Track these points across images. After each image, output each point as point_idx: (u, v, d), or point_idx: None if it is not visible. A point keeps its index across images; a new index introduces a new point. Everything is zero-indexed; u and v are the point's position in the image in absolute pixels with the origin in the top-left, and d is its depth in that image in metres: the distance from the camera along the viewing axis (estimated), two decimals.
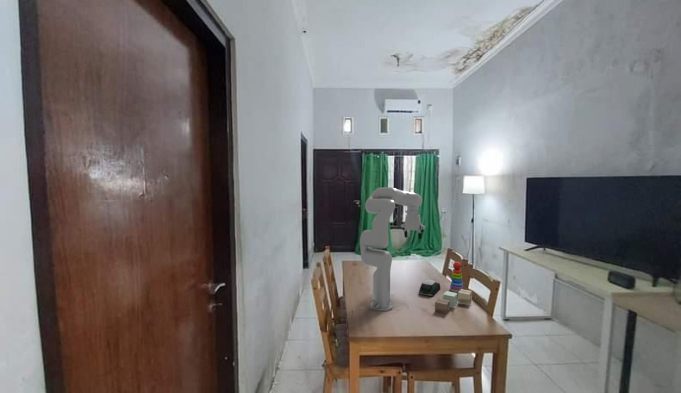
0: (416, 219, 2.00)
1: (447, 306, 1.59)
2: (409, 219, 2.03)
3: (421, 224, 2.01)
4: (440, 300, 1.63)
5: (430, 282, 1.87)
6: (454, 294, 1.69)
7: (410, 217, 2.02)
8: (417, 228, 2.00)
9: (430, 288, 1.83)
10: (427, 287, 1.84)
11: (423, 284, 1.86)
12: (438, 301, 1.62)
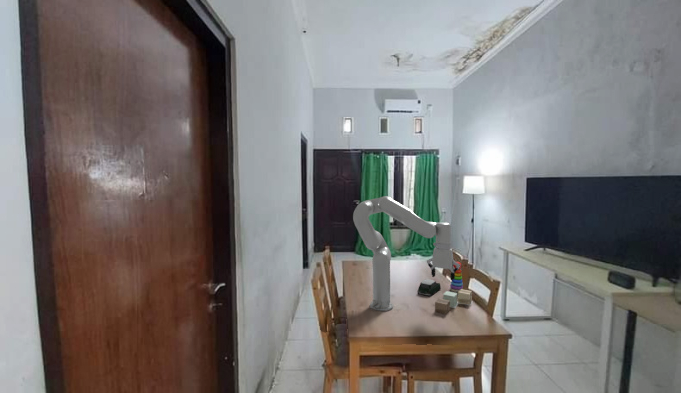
0: (448, 255, 1.57)
1: (447, 306, 1.59)
2: (439, 255, 1.59)
3: (454, 261, 1.58)
4: (440, 300, 1.63)
5: (429, 282, 1.87)
6: (454, 294, 1.69)
7: (439, 252, 1.59)
8: (449, 266, 1.57)
9: (428, 288, 1.83)
10: (425, 287, 1.84)
11: (422, 284, 1.87)
12: (438, 301, 1.62)
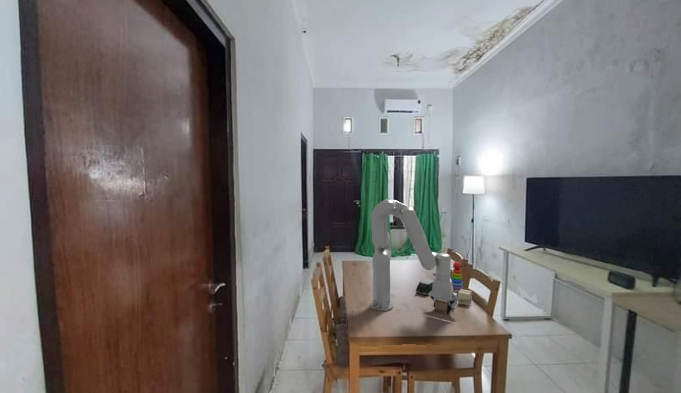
0: (447, 287, 1.57)
1: None
2: (438, 286, 1.60)
3: (453, 294, 1.59)
4: (440, 300, 1.63)
5: (427, 281, 1.88)
6: (454, 294, 1.69)
7: (439, 283, 1.60)
8: (449, 298, 1.57)
9: (426, 287, 1.84)
10: (423, 286, 1.85)
11: (420, 283, 1.88)
12: (438, 301, 1.62)
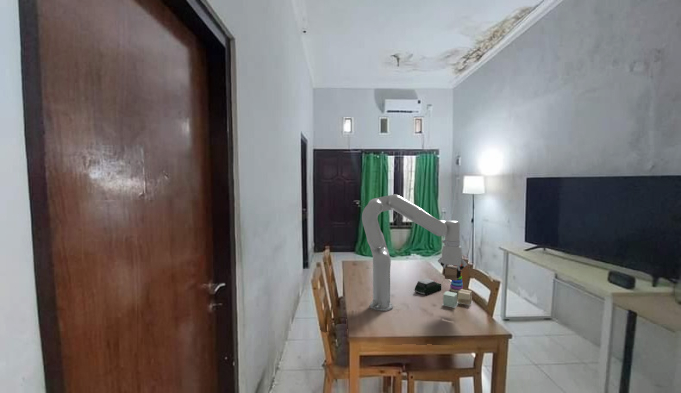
0: (457, 252, 1.61)
1: None
2: (448, 252, 1.63)
3: (462, 259, 1.62)
4: (450, 266, 1.66)
5: (426, 281, 1.88)
6: (454, 294, 1.69)
7: (448, 249, 1.63)
8: (458, 263, 1.60)
9: (424, 287, 1.85)
10: (421, 285, 1.87)
11: (419, 282, 1.89)
12: (447, 267, 1.65)
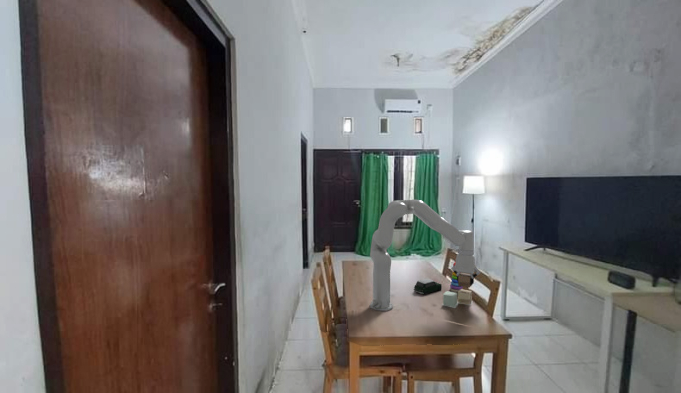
0: (471, 261, 1.68)
1: None
2: (462, 260, 1.71)
3: None
4: (463, 274, 1.74)
5: (425, 281, 1.89)
6: (454, 294, 1.69)
7: (462, 257, 1.71)
8: (472, 271, 1.68)
9: (422, 286, 1.86)
10: (420, 285, 1.87)
11: (418, 282, 1.90)
12: (461, 274, 1.73)
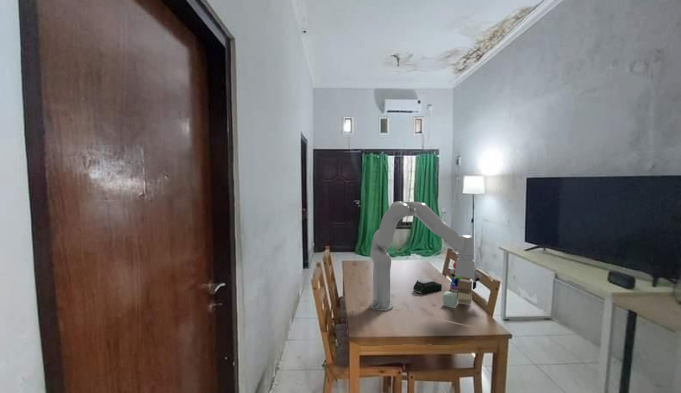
0: (471, 266, 1.68)
1: (470, 285, 1.70)
2: (462, 265, 1.71)
3: (476, 271, 1.69)
4: (463, 280, 1.74)
5: (425, 281, 1.89)
6: (454, 294, 1.69)
7: (462, 262, 1.71)
8: (472, 276, 1.68)
9: (421, 286, 1.87)
10: (419, 285, 1.88)
11: (417, 281, 1.91)
12: (460, 281, 1.73)
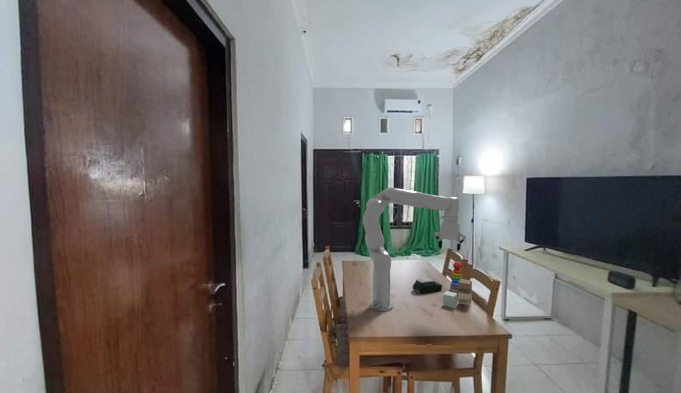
0: (455, 227, 1.67)
1: (470, 285, 1.70)
2: (446, 227, 1.69)
3: None
4: (463, 280, 1.74)
5: (424, 280, 1.90)
6: (454, 294, 1.69)
7: (447, 224, 1.69)
8: (456, 238, 1.66)
9: (420, 285, 1.88)
10: (418, 284, 1.89)
11: (416, 281, 1.92)
12: (460, 281, 1.73)
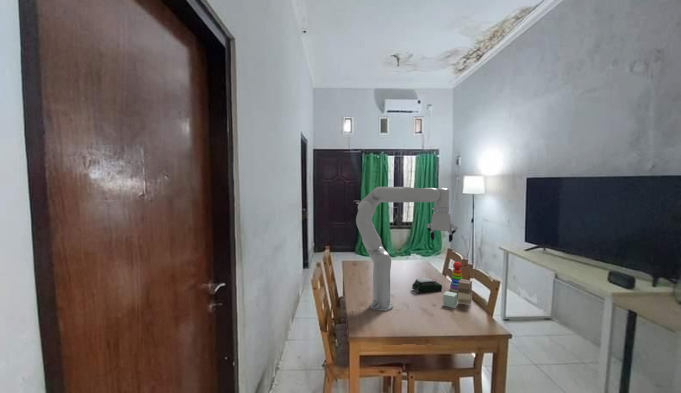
0: (446, 218, 1.66)
1: (470, 285, 1.70)
2: (437, 218, 1.69)
3: (452, 224, 1.67)
4: (463, 280, 1.74)
5: (423, 280, 1.91)
6: (454, 294, 1.69)
7: (438, 215, 1.68)
8: (447, 229, 1.66)
9: (418, 285, 1.89)
10: (417, 283, 1.91)
11: (416, 280, 1.93)
12: (460, 281, 1.73)
